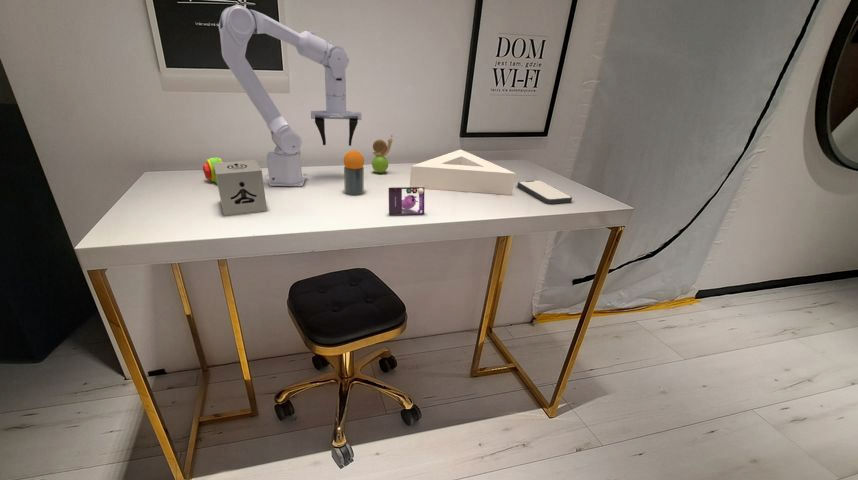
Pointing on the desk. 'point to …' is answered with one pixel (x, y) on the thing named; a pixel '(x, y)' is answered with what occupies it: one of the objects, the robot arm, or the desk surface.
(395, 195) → the purple product box
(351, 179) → the cup
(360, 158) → the ball
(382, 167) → the snail figurine
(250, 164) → the icon cube
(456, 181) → the triangle block
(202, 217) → the desk surface
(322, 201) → the desk surface
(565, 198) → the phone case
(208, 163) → the red green curved piece
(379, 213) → the desk surface
